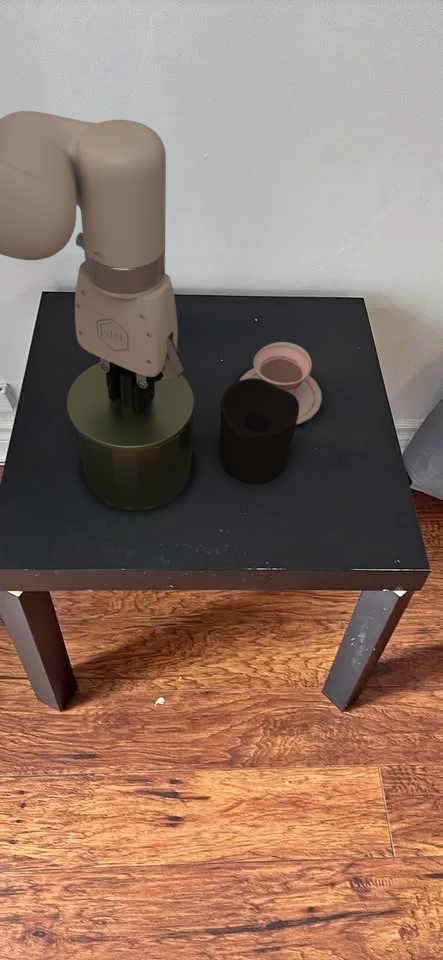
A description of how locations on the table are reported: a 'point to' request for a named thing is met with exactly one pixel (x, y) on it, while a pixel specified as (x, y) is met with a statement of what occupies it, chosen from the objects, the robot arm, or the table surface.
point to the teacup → (288, 375)
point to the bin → (138, 472)
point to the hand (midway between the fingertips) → (131, 396)
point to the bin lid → (128, 410)
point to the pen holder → (256, 429)
